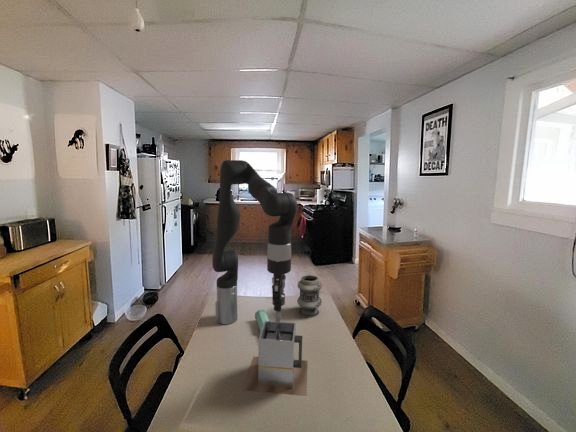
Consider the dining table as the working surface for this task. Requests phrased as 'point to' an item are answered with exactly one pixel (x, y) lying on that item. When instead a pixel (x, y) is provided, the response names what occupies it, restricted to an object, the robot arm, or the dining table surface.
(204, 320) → the dining table surface
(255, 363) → the walnut board
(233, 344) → the dining table surface
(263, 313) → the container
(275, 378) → the square mug
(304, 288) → the apothecary jar
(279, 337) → the plunger
